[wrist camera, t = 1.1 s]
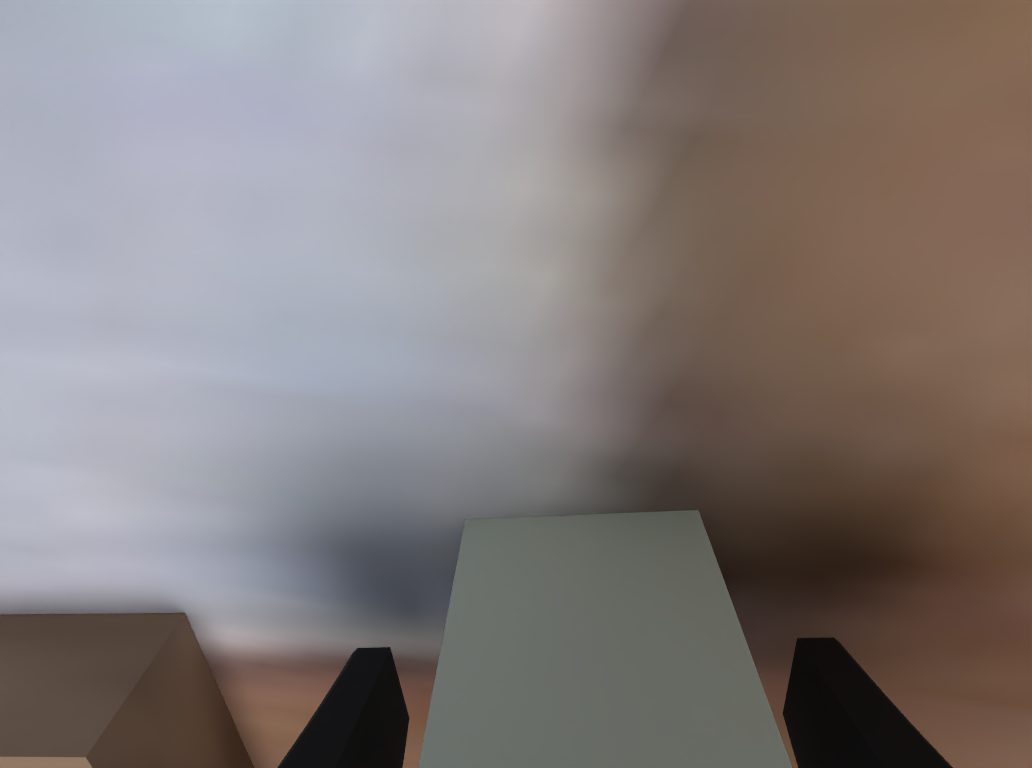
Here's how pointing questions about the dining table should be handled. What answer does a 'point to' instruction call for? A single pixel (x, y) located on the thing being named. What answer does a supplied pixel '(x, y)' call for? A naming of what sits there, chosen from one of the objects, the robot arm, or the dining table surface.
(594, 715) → the green block
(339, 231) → the dining table surface
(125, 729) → the base block
